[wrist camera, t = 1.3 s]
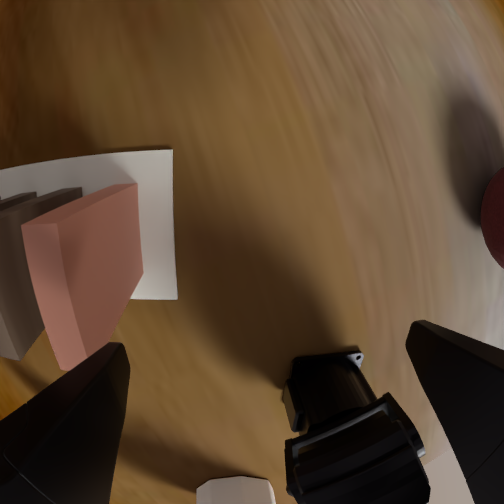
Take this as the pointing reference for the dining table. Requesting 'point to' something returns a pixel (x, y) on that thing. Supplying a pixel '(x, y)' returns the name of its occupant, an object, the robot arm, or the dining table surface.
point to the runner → (104, 175)
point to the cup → (236, 491)
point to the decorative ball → (494, 217)
